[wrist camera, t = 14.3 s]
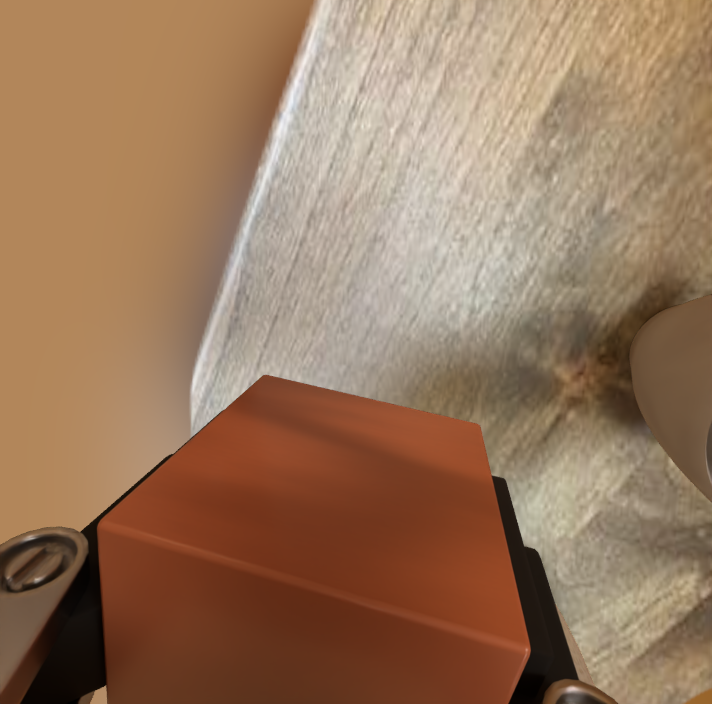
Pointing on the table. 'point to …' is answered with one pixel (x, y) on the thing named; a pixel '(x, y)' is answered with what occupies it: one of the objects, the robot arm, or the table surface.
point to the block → (313, 562)
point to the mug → (678, 385)
